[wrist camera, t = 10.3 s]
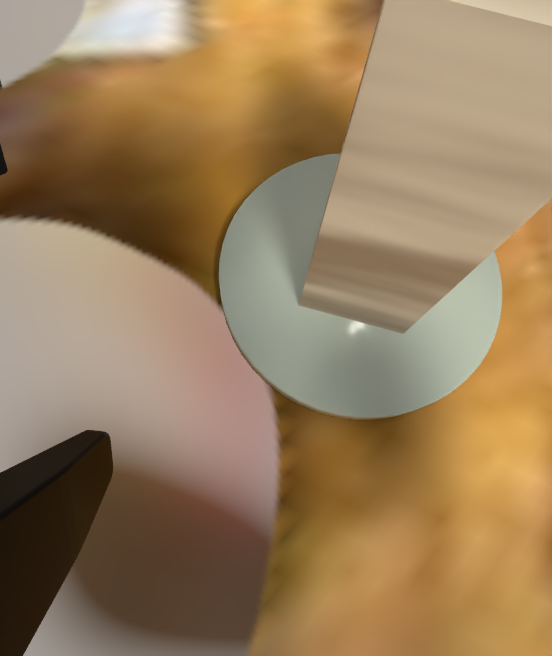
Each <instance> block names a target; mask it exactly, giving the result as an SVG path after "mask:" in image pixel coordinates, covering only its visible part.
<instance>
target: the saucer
mask: <svg viewBox="0 0 552 656" xmlns="http://www.w3.org/2000/svg"><path fill="white" fill-rule="evenodd" d="M339 157H340V153H337V154H327V155H322V156H317V157H312V158H309V159H306V160H303V161H300V162H297V163H295V164H293V165H291V166H288V167H286V168H284V169H282V170H280V171H279V172H277V173H276V174H274V175H272V176H271V177H269V178H268V179H267V180H265V181H264V182H263V183H262V184H261V185H259V186H258V187H257V188H256V189H255V190H254V191H253V192H252V193H251V194H250V195H249V196H248V197H247V198H246V199H245V201H244V202H243V204H242V205H241V206H240V208H239V209H238V211H237V212H236V214H235V216H234V217H233V219H232V221H231V223H230V225H229V227H228V230H227V233H226V236H225V239H224V242H223V245H222V250H221V255H220V261H219V285H220V295H221V301H222V307H223V311H224V315H225V319H226V323H227V325H228V328H229V330H230V333H231V335H232V338H233V340H234V342H235V343H236V345H237V347H238V349H239V350H240V352H241V354H242V355H243V357H244V358H245V359H246V361H247V362H248V363H249V365H250V366H251V367H252V369H253V370H254V371H255V372H256V373H257V374H258V375H259V376H260V377H261V378H262V379H263V380H264V381H265V382H266V383H267V384H269V385H270V386H271V387H272V388H274V389H275V390H276V391H278V392H279V393H280V394H281V395H283V396H285V397H287V398H288V399H290V400H292V401H293V402H295V403H297V404H299V405H301V406H303V407H306V408H308V409H310V410H313V411H315V412H318V413H322V414H326V415H329V416H333V417H338V418H345V419H352V420H375V419H383V418H391V417H395V416H398V415H402V414H406V413H409V412H412V411H415V410H417V409H420V408H422V407H424V406H427V405H429V404H431V403H434V402H436V401H438V400H439V399H441V398H443V397H444V396H446V395H448V394H449V393H451V392H452V391H454V390H455V389H456V388H457V387H458V386H460V385H461V384H462V383H463V382H464V381H466V380H467V379H468V378H469V376H470V375H471V374H472V373H473V372H474V371H475V370H476V368H477V367H478V366H479V365H480V363H481V362H482V360H483V358H484V357H485V355H486V354H487V352H488V351H489V348H490V346H491V344H492V342H493V339H494V337H495V335H496V331H497V327H498V324H499V320H500V314H501V306H502V282H501V276H500V270H499V265H498V262H497V258H496V255H495V252H494V251H493V252H492V253H491V254H490V255H489V256H488V257H487V258H486V259H485V260H484V261H483V262H481V263H480V264H479V265H478V266H477V267H476V268H475V269H474V270H473V271H472V272H471V273H469V274H468V275H467V276H466V277H465V278H464V279H463V280H462V281H461V282H460V283H458V284H457V285H456V286H455V287H454V288H453V289H452V290H451V291H450V292H449V293H448V294H446V295H445V296H444V297H443V298H442V299H441V300H440V301H439V302H438V303H437V304H436V305H434V306H433V307H432V308H431V309H430V310H429V311H428V312H427V313H426V314H425V315H423V316H422V317H421V318H420V319H419V320H418V321H417V322H416V323H415V324H414V325H413V326H411V327H410V328H409V329H408V330H407V331H406V332H405V333H404V334H402V333H398V332H394V331H390V330H387V329H383V328H379V327H376V326H372V325H368V324H365V323H361V322H357V321H354V320H350V319H346V318H343V317H339V316H335V315H332V314H328V313H324V312H320V311H317V310H313V309H309V308H306V307H302V306H299V302H300V298H301V295H302V291H303V287H304V284H305V280H306V276H307V272H308V269H309V265H310V261H311V258H312V254H313V250H314V247H315V243H316V239H317V236H318V232H319V228H320V225H321V221H322V217H323V214H324V210H325V207H326V203H327V199H328V196H329V192H330V189H331V185H332V182H333V178H334V174H335V171H336V167H337V164H338V160H339Z"/></svg>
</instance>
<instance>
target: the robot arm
mask: <svg viewBox="0 0 552 656" xmlns="http://www.w3.org/2000/svg"><path fill="white" fill-rule="evenodd" d="M112 473H113V460H112V450H111V441H110V437H109V434H108V433H106V432H102V431H93V430H86V431H84V432H82V433H80V434H78V435H76V436H74V437H72V438H70V439H68V440H66V441H64V442H61V443H59V444H58V445H56V446H53V447H52V448H49V449H47V450H45V451H43V452H41V453H39V454H37V455H35V456H33V457H31V458H30V459H27V460H25V461H23V462H21V463H19V464H17V465H15V466H13V467H11V468H9V469H7V470H5V471H3V472H1V473H0V656H23V654H24V653H25V651H26V649H27V647H28V645H29V644H30V642H31V640H32V638H33V636H34V635H35V633H36V631H37V629H38V627H39V625H40V624H41V622H42V620H43V618H44V616H45V615H46V612H47V611H48V609H49V607H50V606H51V604H52V602H53V600H54V598H55V596H56V595H57V593H58V591H59V589H60V587H61V586H62V584H63V582H64V580H65V578H66V576H67V575H68V573H69V571H70V569H71V567H72V566H73V564H74V562H75V560H76V558H77V556H78V554H79V552H80V550H81V548H82V546H83V544H84V541H85V539H86V537H87V534H88V532H89V530H90V527H91V525H92V523H93V520H94V518H95V515H96V513H97V511H98V508H99V506H100V504H101V501H102V499H103V497H104V494H105V492H106V490H107V487H108V485H109V482H110V480H111V477H112Z"/></svg>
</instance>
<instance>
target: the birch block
mask: <svg viewBox="0 0 552 656" xmlns="http://www.w3.org/2000/svg"><path fill="white" fill-rule="evenodd" d="M551 198H552V0H383V3H382V7H381V10H380V14H379V18H378V21H377V25H376V28H375V32H374V35H373V39H372V43H371V46H370V50H369V53H368V57H367V60H366V64H365V67H364V71H363V75H362V78H361V82H360V85H359V89H358V92H357V96H356V100H355V103H354V107H353V110H352V114H351V117H350V121H349V125H348V128H347V132H346V135H345V139H344V142H343V146H342V149H341V153H340V157H339V160H338V164H337V167H336V171H335V174H334V178H333V182H332V185H331V189H330V192H329V196H328V199H327V203H326V207H325V210H324V214H323V217H322V221H321V225H320V228H319V232H318V236H317V239H316V243H315V247H314V250H313V254H312V258H311V261H310V265H309V269H308V272H307V276H306V280H305V284H304V287H303V291H302V295H301V298H300V302H299V306H302V307H306V308H309V309H313V310H317V311H320V312H324V313H328V314H332V315H335V316H339V317H343V318H346V319H350V320H354V321H357V322H361V323H365V324H368V325H372V326H376V327H379V328H383V329H387V330H390V331H394V332H398V333H402V334H404V333H405V332H406V331H407V330H408V329H409V328H410V327H411V326H413V325H414V324H415V323H416V322H417V321H418V320H419V319H420V318H421V317H422V316H423V315H425V314H426V313H427V312H428V311H429V310H430V309H431V308H432V307H433V306H434V305H436V304H437V303H438V302H439V301H440V300H441V299H442V298H443V297H444V296H445V295H446V294H448V293H449V292H450V291H451V290H452V289H453V288H454V287H455V286H456V285H457V284H458V283H460V282H461V281H462V280H463V279H464V278H465V277H466V276H467V275H468V274H469V273H471V272H472V271H473V270H474V269H475V268H476V267H477V266H478V265H479V264H480V263H481V262H483V261H484V260H485V259H486V258H487V257H488V256H489V255H490V254H491V253H492V252H493V251H495V250H496V249H497V248H498V247H499V246H500V245H501V244H502V243H503V242H504V241H506V240H507V239H508V238H509V237H510V236H511V235H512V234H513V233H514V232H515V231H516V230H518V229H519V228H520V227H521V226H522V225H523V224H524V223H525V222H526V221H527V220H528V219H530V218H531V217H532V216H533V215H534V214H535V213H536V212H537V211H538V210H539V209H541V208H542V207H543V206H544V205H545V204H546V203H547V202H548V201H549V200H550V199H551Z"/></svg>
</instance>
